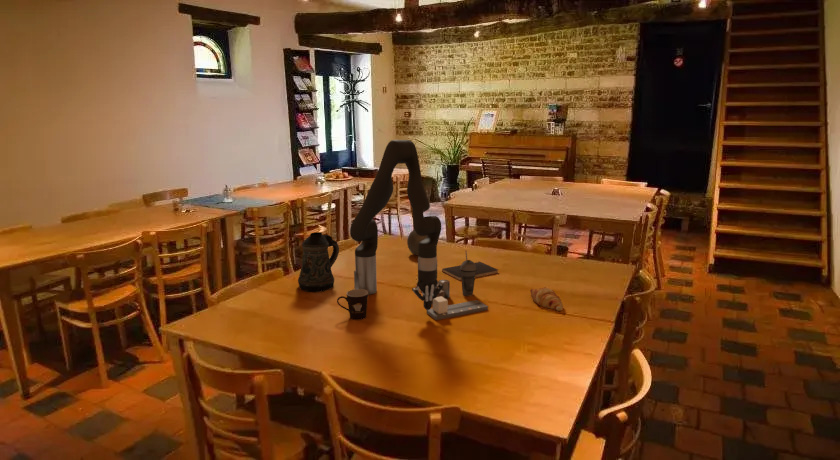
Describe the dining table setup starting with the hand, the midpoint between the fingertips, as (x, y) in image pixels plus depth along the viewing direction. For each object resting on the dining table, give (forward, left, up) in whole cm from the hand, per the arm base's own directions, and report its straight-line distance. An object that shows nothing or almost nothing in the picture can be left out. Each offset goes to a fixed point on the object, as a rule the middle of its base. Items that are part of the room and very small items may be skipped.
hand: (427, 309), depth 207 cm
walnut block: (+11, +13, -4) cm, 17 cm away
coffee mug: (-25, +14, -4) cm, 29 cm away
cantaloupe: (+36, +79, -4) cm, 87 cm away
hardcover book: (+45, +41, -4) cm, 61 cm away
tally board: (+14, 0, -4) cm, 14 cm away
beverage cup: (+28, +15, -4) cm, 32 cm away
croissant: (+51, -9, -4) cm, 52 cm away
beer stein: (-28, +56, -4) cm, 63 cm away
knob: (+6, 0, -2) cm, 6 cm away
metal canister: (+17, +17, -4) cm, 24 cm away
